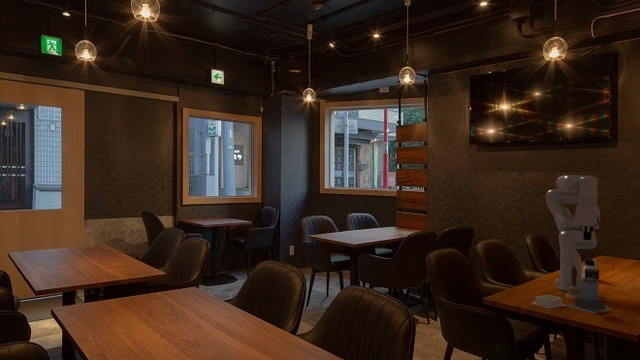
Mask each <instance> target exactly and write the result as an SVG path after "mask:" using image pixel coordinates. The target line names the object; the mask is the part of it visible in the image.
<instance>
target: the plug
mask: <svg viewBox="0 0 640 360" xmlns="http://www.w3.org/2000/svg"><path fill="white" fill-rule="evenodd" d="M580 296H581V299H583V300H587V301H595V300H598V298H599V281H596V279H593V278H584V279H583V278H582V281H581V292H580Z"/></svg>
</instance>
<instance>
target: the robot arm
mask: <svg viewBox="0 0 640 360" xmlns="http://www.w3.org/2000/svg"><path fill="white" fill-rule="evenodd" d="M555 186H556V187H557V188H553V189H549V190H547V192H546V193H545V203H546V206H547V207H548V210H549V211H550V212H551V214H552V215H553V218H554V222H555V224H556V227H557V229H558V231H559V234H558V244H559V252H560V255H559V256H560V264H559V265H560V267H559V268H560V271H559V272H560V275H559V276H560V278H556V279H555V280H554V283H557V285H556V288H557V289H558V290H560V291H564V292H568V289H569V287H571V286H572V277H571V270H572V268H573V267H576V270H577V277H576V287H577V288H579V293H581V282H582V257H581V255H580V254H579V251H577V250H593V249H595V248H596V247H597V244H598V241H597V239H598V238H597V236H596V234H595V231H594V230H599V229H600V225H601V213H600V212H601V211H600V207H599V205H598V187H599V182H598V177H596V176H592V175H580V174H579V175H578V174H577V175H575V174H567V175H566V174H564V175H560V176H559V177H557V178H556V180H555ZM564 204H565V205H567V204H568V205H569V204H571V205H574V204H576V208H575V214H574V215H572V213H571V211H570V210H569V209H568V207H566V206H565V205H564Z"/></svg>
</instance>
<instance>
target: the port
mask: <svg viewBox="0 0 640 360" xmlns="http://www.w3.org/2000/svg"><path fill="white" fill-rule="evenodd" d="M567 307H569V308H574V309H576V310H579V311H583V312H586V313H590V314H599V313H605V312H610V311H611V312H612V308H610V307H609V306H605V300H604V299H602V298H599V297H598V300H595V301H587V300H583V299H581V297H578V298H575V299H574V303H568V304H567Z"/></svg>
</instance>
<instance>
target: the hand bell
mask: <svg viewBox="0 0 640 360" xmlns="http://www.w3.org/2000/svg"><path fill="white" fill-rule="evenodd" d="M571 277H572V286H571V287H569V289H568V291H567V293H566V294H565V295H564V297H565V298H567V299H571V300H575V298H578V297H581V292H579V288H577V287H576V277H577V270H576V267H573V268H572V270H571Z"/></svg>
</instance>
